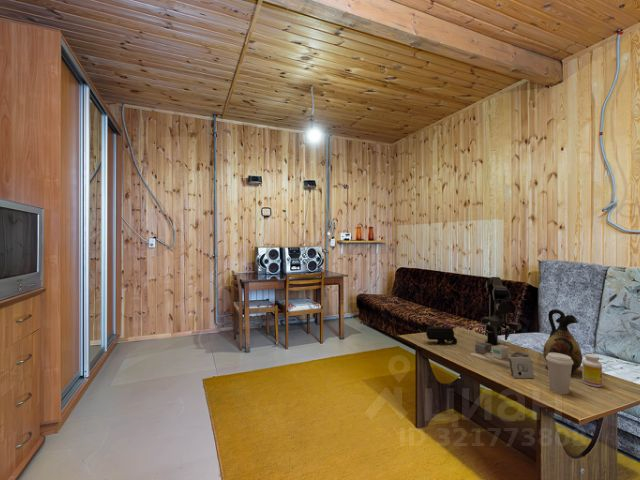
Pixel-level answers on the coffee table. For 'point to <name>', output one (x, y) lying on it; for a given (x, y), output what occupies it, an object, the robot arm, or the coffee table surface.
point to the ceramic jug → (563, 339)
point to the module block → (500, 351)
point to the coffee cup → (559, 372)
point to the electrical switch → (521, 367)
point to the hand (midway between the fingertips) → (500, 338)
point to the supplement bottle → (592, 371)
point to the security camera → (441, 334)
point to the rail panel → (485, 353)
